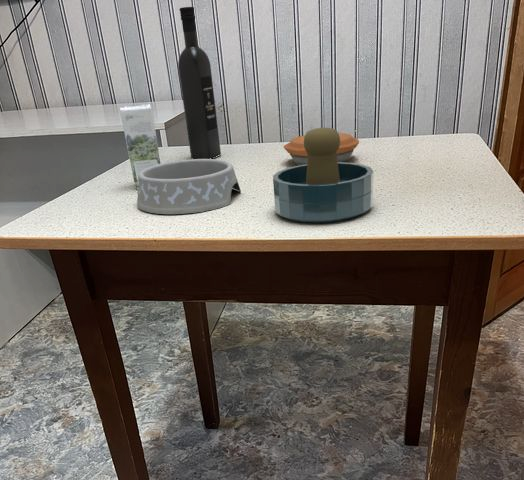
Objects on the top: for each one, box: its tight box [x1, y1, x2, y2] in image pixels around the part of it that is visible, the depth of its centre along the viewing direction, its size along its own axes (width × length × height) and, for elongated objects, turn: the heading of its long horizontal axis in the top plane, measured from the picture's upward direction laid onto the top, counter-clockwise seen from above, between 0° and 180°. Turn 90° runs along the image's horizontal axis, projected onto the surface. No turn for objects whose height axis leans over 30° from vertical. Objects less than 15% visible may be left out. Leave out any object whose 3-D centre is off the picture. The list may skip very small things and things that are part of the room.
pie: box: [283, 132, 360, 166], centre depth 111 cm, size 15×16×5 cm
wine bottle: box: [177, 6, 222, 159], centre depth 119 cm, size 6×6×30 cm
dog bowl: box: [136, 158, 242, 215], centre depth 92 cm, size 17×18×5 cm
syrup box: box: [119, 103, 162, 190], centre depth 102 cm, size 6×6×14 cm
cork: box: [304, 127, 340, 184], centre depth 79 cm, size 6×6×11 cm
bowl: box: [272, 162, 374, 224], centre depth 80 cm, size 15×15×6 cm
